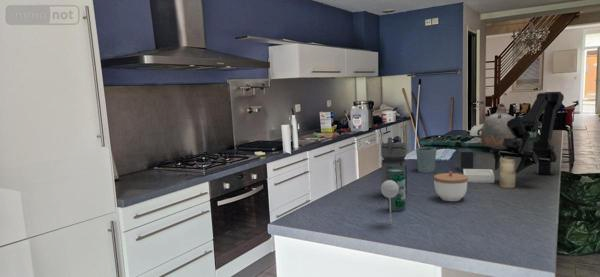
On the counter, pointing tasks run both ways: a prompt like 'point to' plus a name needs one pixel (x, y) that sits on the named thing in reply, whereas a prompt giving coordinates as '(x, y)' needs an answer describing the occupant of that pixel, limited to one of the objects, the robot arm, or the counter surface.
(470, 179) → the tray
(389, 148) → the beverage bottle
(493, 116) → the jug
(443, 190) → the lidded bowl
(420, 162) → the drinking glass
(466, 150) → the small box
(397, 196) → the can
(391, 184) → the lollipop
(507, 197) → the counter surface
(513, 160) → the canister
